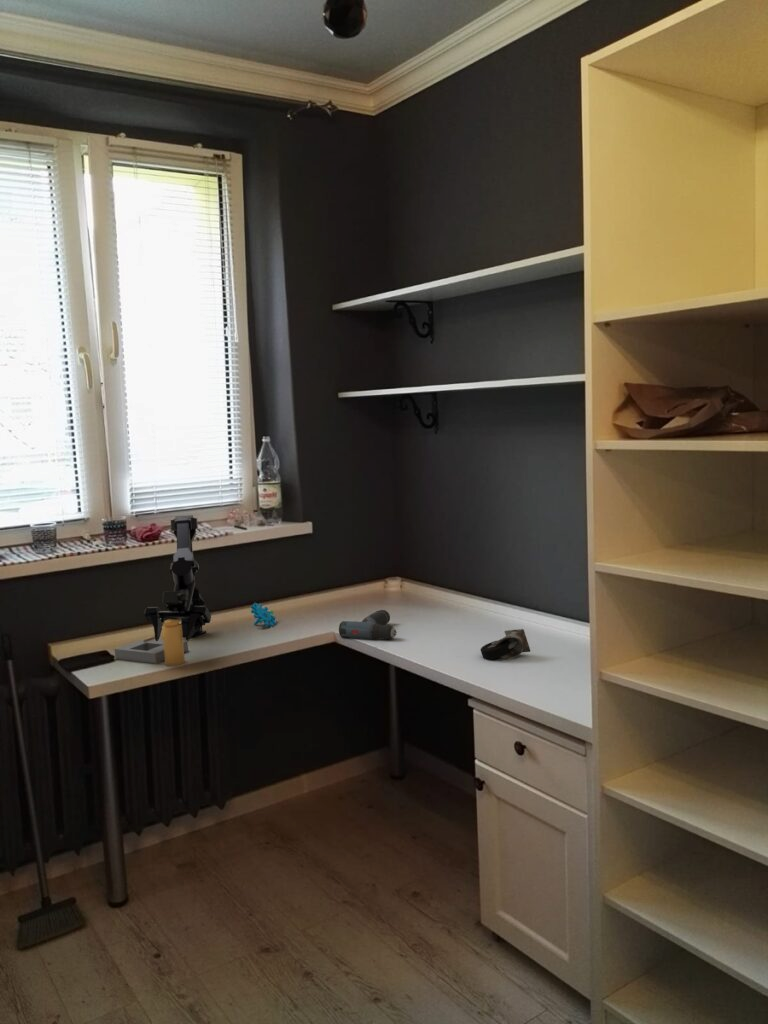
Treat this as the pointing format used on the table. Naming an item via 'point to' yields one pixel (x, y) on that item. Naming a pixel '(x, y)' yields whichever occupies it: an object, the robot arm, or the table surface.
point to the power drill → (369, 627)
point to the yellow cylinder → (173, 642)
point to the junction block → (144, 650)
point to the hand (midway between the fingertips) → (171, 640)
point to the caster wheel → (507, 646)
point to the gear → (263, 615)
